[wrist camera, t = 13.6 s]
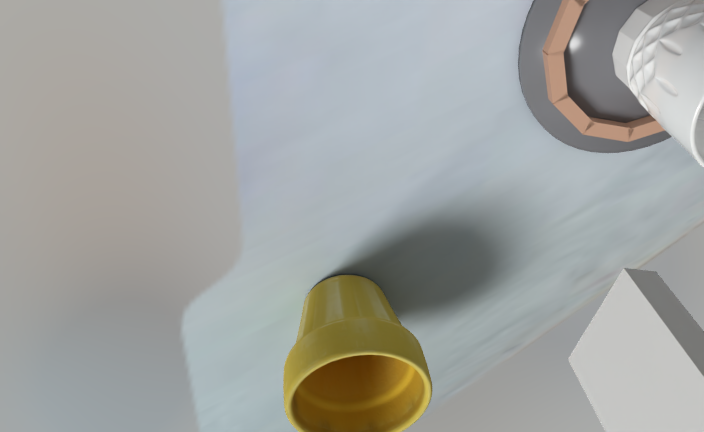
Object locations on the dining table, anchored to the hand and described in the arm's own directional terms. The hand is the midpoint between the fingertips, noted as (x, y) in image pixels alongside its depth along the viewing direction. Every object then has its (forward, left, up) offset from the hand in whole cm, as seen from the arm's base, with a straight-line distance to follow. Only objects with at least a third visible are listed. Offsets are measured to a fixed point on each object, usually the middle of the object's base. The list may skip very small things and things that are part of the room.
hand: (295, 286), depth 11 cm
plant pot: (+25, +9, -27) cm, 38 cm away
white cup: (0, +24, -26) cm, 36 cm away
